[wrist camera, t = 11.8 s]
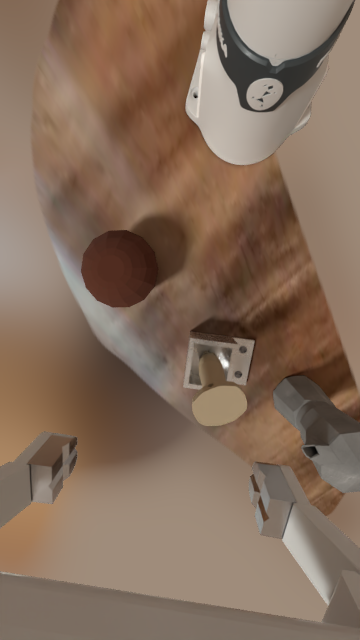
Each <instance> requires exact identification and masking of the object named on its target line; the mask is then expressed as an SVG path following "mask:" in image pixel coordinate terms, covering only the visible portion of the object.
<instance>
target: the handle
mask: <svg viewBox="0 0 360 640" xmlns="http://www.w3.org/2000/svg"><path fill="white" fill-rule="evenodd" d="M199 376H200V380H201V384H202V388H201V389H200V390H199V391H198V392H197V393H196V394H195V396H194V397H193V400H192V410H193V414H194V416H195V418H196V419H197V421H198V422H200V423H201V424H202V425H207V426H220V425H224V424H226V423H229V422H232V421H234V420H236V419H237V418H238V417H239V416H240V415H242V414H243V413H244V412H245V411H246V408H247V400H246V397H245V395H244V393H243V391H242V389H241V388H240V387H239V385H237V384H236V383H235V382H231V381H226V378H225V374H224V369H223V367H222V364H221V362H220V360H219V359H218V358H217V357H216V355H215V353H213V352H207V351H205V352H203V355H202V356H201V357H200V359H199Z"/></svg>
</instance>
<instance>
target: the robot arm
mask: <svg viewBox="0 0 360 640" xmlns="http://www.w3.org/2000/svg"><path fill="white" fill-rule="evenodd" d="M354 2H355V0H208V2H207V7H206V12H205V20H204V29H205V30H206V31H204V32H203V36H202V42H201V49H200V53H199V57H198V60H197V64H196V67H195V71H194V74H193V78H192V82H191V85H190V89H189V92H188V96H187V99H186V108H185V109H186V113H187V114H188V116H189V117H190V118H191V119H192V120H193V121H194V122H195V123H196V124H197V125H198V126H199V128H200V130H201V132H202V134H203V137H204V139H205V141H206V143H207V145H208V146H209V148H210V149H211V150H212V151H213V152H214V153H215V154H216V155H217V156H218V157H220V158H221V159H223V160H225V161H227V162H229V163H232V164H237V165H249V164H254V163H257V162H260V161H262V160H264V159H266V158H267V157H269V156H270V155H272V154H273V153H274V152H275V151H276V150H277V149H278V148H279V147H280V146H281V144H282V143H283V142H284V141H285V140H286V138H287V137H288V136H289V135H291V134H293V133H295V132H297V131H299V130H300V129H302V128H303V127H304V126H305V125H306V123H307V122H308V120H309V118H310V116H311V101H312V99H313V97H314V96H315V94H316V92H317V90H318V89H319V87H320V85H321V84H322V82H323V80H324V78H325V76H326V75H327V72H328V69H329V66H328V58H329V53H330V51H331V50H332V48H333V46H334V44H335V43H336V41H337V39H338V37H339V36H340V33H341V31H342V29H343V27H344V25H345V23H346V21H347V19H348V17H349V15H350V13H351V11H352V8H353V5H354ZM194 96H198V98H194ZM76 445H77V437H75V436H69V435H63V434H58V433H50V432H42V433H41V434H40V435H39V436H38V437H37V438H36V439H35V440H34V441H33V442H32V443H31V444H30V445H29V446H28V447H27V448H26V449H25V450H24V451H23V453H21V454H20V455H19V456H18V458H17V459H16V460H15V461H14V462H8V463H6V464H4V465H2V466H0V528H1V527H2V526H4V525H5V524H6V523H7V522H8V521H10V520H11V519H12V518H13V517H15V516H16V515H17V514H18V513H19V512H21V511H22V510H23V509H25V508H26V507H27V506H28V505H30V504H31V502H39V503H48V504H53V502H54V501H55V499H56V497H57V496H58V494H59V493H60V491H61V489H62V488H63V481H64V480H65V479H66V478H68V477H69V476H70V474H71V473H72V471H73V469H74V466H75V464H76V460H77V451H76V449H75V447H76ZM252 470H253V473H254V474H253V475H251V476H250V480H249V494H250V498H251V503H252V504H253V505H254V507H255V508H256V513H255V517H256V521H257V525H258V528H259V532H260V535H263V536H268V537H273V538H279V539H282V541H283V542H284V544H285V545H286V547H287V548H288V550H289V551H290V552H291V554H292V555H293V556H294V558H295V559H296V561H297V562H298V564H299V565H300V567H301V568H302V569H303V571H304V572H305V574H306V575H307V576H308V578H309V579H310V581H311V582H312V584H313V585H314V586H315V588H316V589H317V591H318V592H319V593H320V595H321V596H322V598H323V599H324V601H325V602H326V603H327V605H328V608H327V610H326V613H325V615H324V618H323V620H322V622H315V621H309V620H303V619H296V618H290V617H284V616H278V615H271V614H265V613H258V612H253V611H246V610H240V609H234V608H227V607H221V606H215V605H208V604H202V603H196V602H190V601H184V600H177V599H171V598H165V597H159V596H152V595H146V594H140V593H133V592H127V591H120V590H114V589H108V588H101V587H95V586H89V585H83V584H76V583H70V582H64V581H57V580H51V579H45V578H38V577H32V576H26V575H19V574H13V573H7V572H1V571H0V640H360V548H359V547H358V546H357V545H356V544H355V543H354V542H353V541H352V540H351V539H349V538H348V537H347V536H346V535H345V534H344V533H343V532H342V531H341V530H340V529H339V528H338V527H337V526H335V525H334V524H333V523H332V522H331V521H330V520H329V519H328V518H327V517H326V516H325V515H324V514H323V513H322V512H321V511H319V510H318V509H317V508H316V507H315V506H311V504H310V503H309V501H308V499H307V497H306V495H305V493H304V491H303V489H302V487H301V486H300V484H299V482H298V480H297V478H296V476H295V474H294V472H293V471H292V469H291V468H290V467H289V466H286V465H278V464H277V465H276V464H270V463H262V462H254V463H253V467H252Z"/></svg>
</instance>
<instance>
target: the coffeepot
mask: <svg viewBox="0 0 360 640" xmlns="http://www.w3.org/2000/svg"><path fill="white" fill-rule="evenodd" d="M273 399H274V404H275V409H276V410H278V411H279V412H280V413H281V414H282V415H283V416H284V417H285V418H286V419H287V420H288V421H289V422H290V423H291V424H292V425H293V426H294V427H295V428H297V429H298V430H299V431H300V433H301V438H302V440H303V442H304V444H305V445H302V447H301V448H302V451H303V453H304V454H305V456H307V457H308V458H309V459H311V460H312V461H313V463H314V465H315V467H316V469H317V471H318V473H319V475H320V477H321V478H322V479H323V480H325V481H326V482H328V483H329V484H331V485H332V486H334V487H335V488H337V489H338V490H340V491H341V492H343V493H346V492H357V491H360V423H359V422H358V421H356V420H354V419H353V418H351V417H350V416H348V415H347V414H345V413H343V412H342V411H340V410H339V409H337V408H336V407H335V405H334V404H333V403H332V402H331V400H330V399H329V398H328V397H327V395H326V394H325V393H324V392H323V390H322V389H321V388H320V387H319V385H317V384H316V383H314V382H313V381H312V380H310V379H309V378H307V377H306V376H304V375H303V376H292V377H289V378H285V379H284V380H282V381H281V382H280V383H279V384H278V386H277V387H276V389H275V390H274V391H273Z"/></svg>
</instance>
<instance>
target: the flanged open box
mask: <svg viewBox="0 0 360 640" xmlns="http://www.w3.org/2000/svg"><path fill="white" fill-rule="evenodd" d="M254 342H255V340H253V339H246V338H239V337H231V336H224V335H216V334H208V333H201V332H193V331H190V335H189V343H188V350H187V357H186V364H185V372H184V384H183V387H185V388H192V389H199V390H200V389H201V388H202V384H201V380H200V376H199V359H200V357H201V356H202V355H203V352H205V351H207V352H213V353H215V355H216V357H217V358H218V359H219V360H220V362H221V364H222V367H223V369H224V374H225V378H226V381H231V382H235V383H236V384H241V385H246V381H247V376H248V371H249V367H250V362H251V357H252V352H253V347H254Z"/></svg>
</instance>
